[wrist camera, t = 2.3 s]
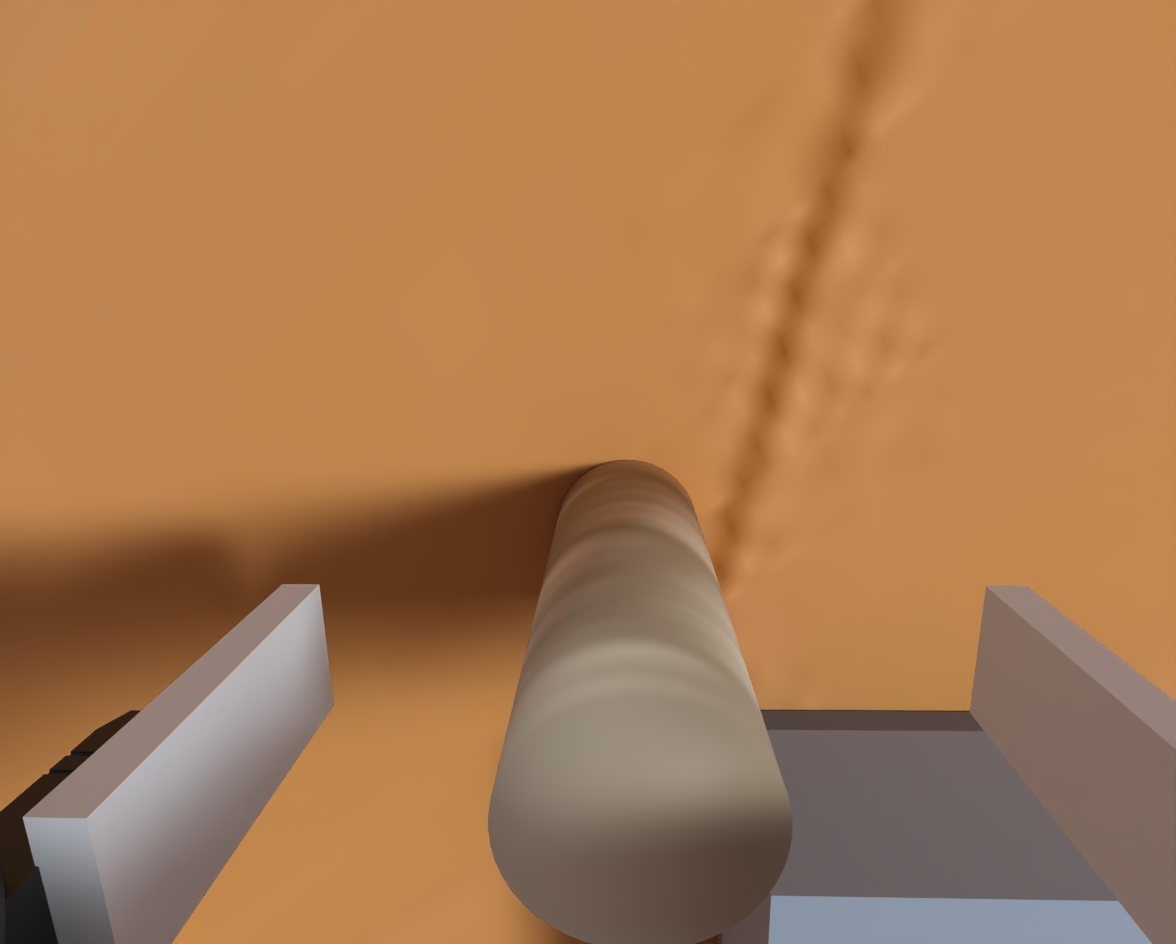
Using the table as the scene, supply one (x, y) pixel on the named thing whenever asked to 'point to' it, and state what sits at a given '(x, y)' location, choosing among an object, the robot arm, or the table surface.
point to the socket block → (920, 841)
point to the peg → (636, 732)
